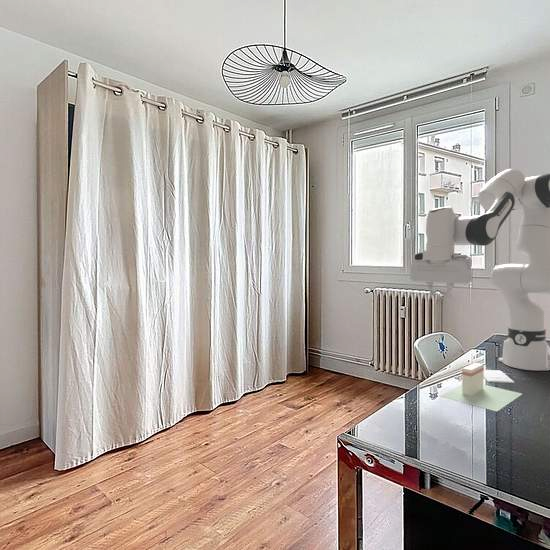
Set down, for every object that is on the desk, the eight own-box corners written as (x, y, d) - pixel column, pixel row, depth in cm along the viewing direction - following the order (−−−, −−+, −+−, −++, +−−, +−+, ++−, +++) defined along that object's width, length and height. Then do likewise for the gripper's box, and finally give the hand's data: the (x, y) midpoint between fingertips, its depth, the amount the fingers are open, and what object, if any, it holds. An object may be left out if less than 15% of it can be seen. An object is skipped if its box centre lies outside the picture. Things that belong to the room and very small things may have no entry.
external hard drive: (501, 374, 142) (515, 386, 129) (476, 373, 143) (488, 385, 131) (501, 370, 142) (515, 381, 129) (476, 369, 143) (488, 380, 131)
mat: (469, 382, 132) (469, 381, 132) (522, 394, 120) (522, 393, 120) (440, 397, 119) (440, 395, 119) (497, 412, 107) (497, 411, 107)
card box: (474, 387, 127) (475, 362, 126) (483, 389, 124) (483, 364, 124) (461, 393, 121) (462, 368, 120) (470, 396, 119) (471, 370, 118)
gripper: (475, 254, 127) (475, 297, 128) (417, 255, 142) (417, 293, 143) (467, 255, 123) (466, 299, 123) (407, 255, 138) (407, 294, 139)
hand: (439, 295), depth 133 cm, fingers open, 3 cm apart
